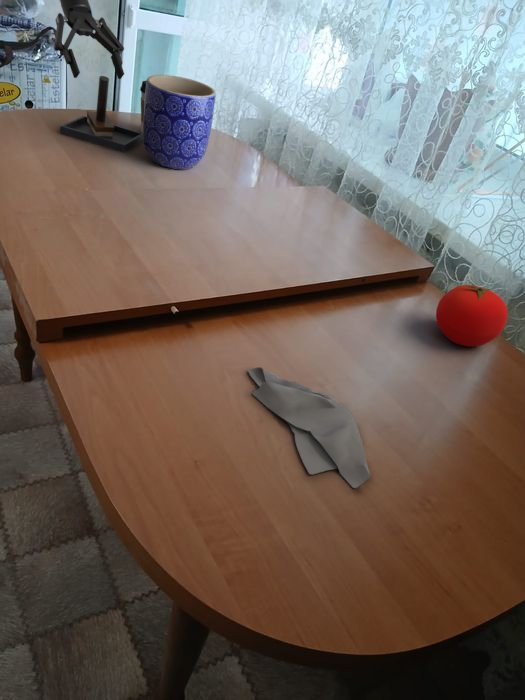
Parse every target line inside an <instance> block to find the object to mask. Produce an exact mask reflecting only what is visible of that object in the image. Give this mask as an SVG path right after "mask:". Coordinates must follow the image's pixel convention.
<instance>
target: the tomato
mask: <svg viewBox="0 0 525 700" xmlns="http://www.w3.org/2000/svg"><path fill="white" fill-rule="evenodd" d="M468 283H470V284H461V285H457V286H455V287H453V288H452V289H450V290H449V291H447V292H446V293H445V294H444V295H443V296H442V297H441V298H440V300H439V301H438V304H437V307H436V310H435V320H436V324H437V326H438V329H439V330H440V331H441V332H442V334H443V335H444V336H445V337H446V338H447V339H449V340H450V341H451V342H453V343H454V344H457V345H461V346H463V347H479V346H483V345H486V344H487V343H488V344H489V343H490V342H491V341H493V340H495V339H496V338H497V337H498V336H499V335H500V334H501V333H502V332H503V330H504V328H505V326H506V324H507V321H508V314H509V313H508V308H507V305H506V303H505V302H504V299H503V298H501V296H500V295H498V294H497V293H496V292H494V291H493V290H492V288H485V287H482V286H479V285H476V284H475V283H473V282H471V281H469V280H468Z"/></svg>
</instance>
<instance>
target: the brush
mask: <svg viewBox="0 0 525 700" xmlns="http://www.w3.org/2000/svg"><path fill="white" fill-rule="evenodd" d="M109 85H110V78H109V77H108V76H105V75H100V76H99V77H98V89H97V90H98V91H97V102H96V111H92V110H91V111H89V110H88V111H87V110H86V117H87V122H88V123H89V125H90V127H91V129H92V131H93V132H94V134H95V135H96V136H113V132H114V126H113V125H114V124H113V123H112V121H111V119H110V118H109V116H108V114H107V106H108V97H109V95H108V94H109Z"/></svg>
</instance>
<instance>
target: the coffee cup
mask: <svg viewBox="0 0 525 700" xmlns="http://www.w3.org/2000/svg"><path fill="white" fill-rule="evenodd" d="M146 81H147V80H142V82H141V86H139V87H140V88H139V91H140V92H141V97H140V118H141V119H140V122H141V124H140V127H141V128H140V131H141V132H140V133H143V120H144V102H145V90H146Z"/></svg>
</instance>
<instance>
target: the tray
mask: <svg viewBox="0 0 525 700" xmlns="http://www.w3.org/2000/svg"><path fill="white" fill-rule="evenodd" d="M113 126H114V132H113V136H96V135H95V134H94V132H93V131H92V129H91V127H90V125H89V123H88V122H87V115H82V116H79V117H77V118H75V119H73V120H71V121H67V122H66V123H63V124H60V125H59V134H61V135H64V136H67V137H72V138H75V139H77V140H81V141H85V142H87V143H92V144H95V145H98V146H101V147H105V148H108V149H110V150H114V151H118V152H121V153H126V152H128V151H130V150H131V149H133V148H134V147H136V146H138V145H139V144H141V143H142V142H144V139H143V133H141V132H140V131H137V130H134V129H130V128H126V127H123V126H121V125H116V124H113Z"/></svg>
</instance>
